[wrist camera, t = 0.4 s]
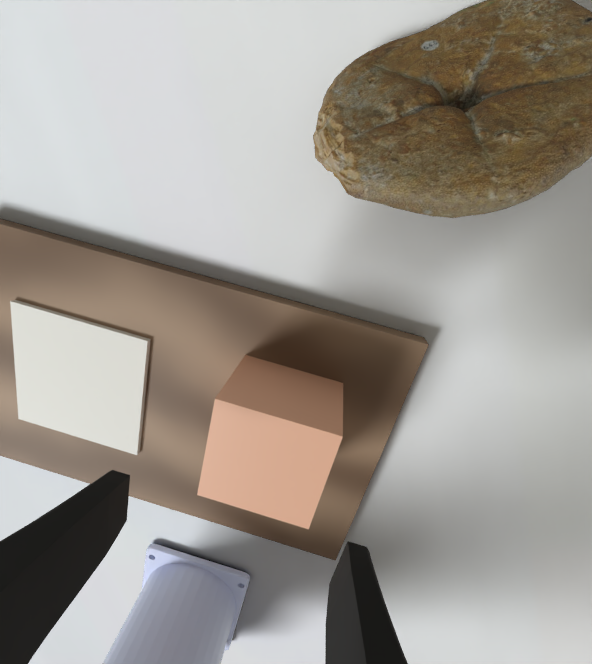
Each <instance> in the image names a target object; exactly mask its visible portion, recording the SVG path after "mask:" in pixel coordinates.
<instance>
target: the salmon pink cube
mask: <svg viewBox="0 0 592 664" xmlns="http://www.w3.org/2000/svg"><path fill="white" fill-rule="evenodd" d="M342 438H343V383H341V382H338V381H334V380H331V379H327V378H324V377H321V376H317V375H314V374H310V373H307V372H303V371H300V370H296V369H293V368H289V367H286V366H283V365H279V364H276V363H272V362H269V361H265V360H262V359H258V358H255V357H251V356H248V355H245V356H244V358H243V359H242V360H241V362H240V363H239V365H238V366H237V368H236V369H235V371H234V372H233V373H232V375H231V376H230V378H229V379H228V381H227V382H226V383H225V385H224V386H223V388H222V389H221V391H220V392H219V394H218V395H217V396H216V398H215V401H214V406H213V412H212V417H211V423H210V428H209V433H208V439H207V444H206V450H205V455H204V460H203V466H202V471H201V476H200V482H199V487H198V493H197V495H199V496H202V497H206V498H209V499H212V500H215V501H218V502H222V503H225V504H228V505H231V506H235V507H238V508H241V509H244V510H248V511H251V512H254V513H257V514H260V515H264V516H267V517H270V518H273V519H277V520H280V521H283V522H286V523H290V524H293V525H296V526H299V527H302V528H306V529H309V527H310V524H311V522H312V519H313V516H314V513H315V511H316V508H317V505H318V503H319V500H320V497H321V494H322V492H323V489H324V486H325V484H326V481H327V478H328V475H329V473H330V470H331V467H332V465H333V462H334V459H335V457H336V454H337V451H338V448H339V446H340V443H341V440H342Z"/></svg>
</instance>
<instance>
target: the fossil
mask: <svg viewBox="0 0 592 664" xmlns="http://www.w3.org/2000/svg"><path fill="white" fill-rule="evenodd" d="M313 139H314V144H315V157H316V159H317V160H318V161H319V162H320V163H322V165H323V166H324V167H325V168H326V169H327V171H331V172H333V173H334V176H335V177H336V178H338V179H339V181H340V182H341V184H342V186H343V187H344V189H345V190H346V192H347V193H348V194H349V195H351V196H353V197H355V198H359V199H363V200H367V201H372V202H376V203H381V204H384V205H387V206H390V207H393V208H397V209H402V210H406V211H411V212H415V213H419V214H425V215H430V216H440V217H450V218H456V217H462V216H469V215H477V214H485V213H489V212H494V211H498V210H502V209H505V208H508V207H511V206H513V205H516V204H519V203H521V202H524V201H526V200H528V199H530V198H532V197H534V196H536V195H538V194H540V193H542V192H544V191H546V190H548V189H549V188H550V187H552V186H553V185H554V184H556V183H557V182H558V181H560V180H561V179H562V178H563V177H565V176H566V175H567V174H568V173H569V172H570V171H571V170H574V169H576V168H578V167H580V166H581V165H582V164H583V163H584V162H585V161H586V160H588V159H589V158H590V157H591V156H592V12H591V11H589V10H587V9H586V8H584V7H582V6H580V5H579V4H577V3H575V2H574V1H572V0H487V1H484V2H482V3H479V4H476V5H474V6H471V7H468V8H465V9H463V10H461V11H459V12H457V13H455V14H453V15H452V16H450V17H448V18H447V19H445V20H444V21H442V22H440V23H438V24H436V25H433V26H432V27H430V28H429V29H427V30H424V31H422V32H419V33H416V34H414V35H411V36H408V37H405V38H401V39H397V40H394V41H391V42H389V43H386V44H384V45H382V46H380V47H378V48H376V49H374V50H371V51H369V52H367V53H365V54H364V55H362V56H361V57H359V58H357V59H356V60H354V61H353V62H352V63H351V64H349V65H348V66H347V67H346V68H345V69H344V70H343V71H342V72H341V73H340V74H339V75H338V76H337V77H336V78H335V79H334V81H333V83H332V84H331V86H330V87H329V88H328V90H327V92H326V95H325V97H324V99H323V104H322V107H321V109H320V111H319V114H318V120H317V126H316V131H315V133H314V135H313Z"/></svg>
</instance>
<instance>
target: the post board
mask: <svg viewBox="0 0 592 664" xmlns="http://www.w3.org/2000/svg"><path fill="white" fill-rule="evenodd" d="M13 300H18V301H21V302H25V303H28V304H31V305H35V306H38V307H42V308H45V309H49V310H52V311H55V312H59V313H62V314H66V315H69V316H73V317H76V318H79V319H83V320H86V321H90V322H93V323H97V324H100V325H104V326H107V327H110V328H114V329H117V330H121V331H124V332H128V333H131V334H134V335H138V336H141V337H145V338H148V339H151V340H150V351H149V361H148V372H147V382H146V393H145V403H144V414H143V424H142V435H141V445H140V453H139V454H138V455H134V454H131V453H128V452H125V451H121V450H118V449H115V448H112V447H108V446H105V445H102V444H99V443H95V442H92V441H89V440H86V439H82V438H79V437H76V436H72V435H69V434H66V433H63V432H59V431H56V430H53V429H50V428H46V427H43V426H40V425H37V424H33V423H30V422H27V421H24V420H20V419H18V405H17V391H16V377H15V362H14V348H13V334H12V319H11V305H10V301H13ZM427 347H428V343H427V341H426V340H425V338H424V337H420V336H417V335H413V334H410V333H406V332H403V331H399V330H396V329H392V328H388V327H385V326H381V325H378V324H374V323H371V322H367V321H364V320H360V319H356V318H353V317H349V316H346V315H342V314H339V313H335V312H331V311H328V310H324V309H321V308H317V307H314V306H310V305H307V304H303V303H299V302H296V301H292V300H289V299H285V298H282V297H278V296H274V295H271V294H267V293H264V292H260V291H257V290H253V289H250V288H246V287H242V286H239V285H235V284H232V283H228V282H225V281H221V280H218V279H214V278H210V277H207V276H203V275H200V274H196V273H193V272H189V271H185V270H182V269H178V268H175V267H171V266H168V265H164V264H161V263H157V262H153V261H150V260H146V259H143V258H139V257H136V256H132V255H128V254H125V253H121V252H118V251H114V250H111V249H107V248H104V247H100V246H96V245H93V244H89V243H86V242H82V241H79V240H75V239H72V238H68V237H64V236H61V235H57V234H54V233H50V232H47V231H43V230H39V229H36V228H32V227H29V226H25V225H22V224H18V223H15V222H11V221H7V220H4V219H0V456H3V457H6V458H10V459H13V460H16V461H19V462H22V463H26V464H29V465H32V466H35V467H38V468H42V469H45V470H48V471H51V472H54V473H58V474H61V475H64V476H67V477H70V478H74V479H77V480H80V481H83V482H86V483H90V484H91V483H93V482H94V481H96V480H97V479H99V478H100V477H102V476H103V475H105V474H106V473H107V472H109V471H111V470H115V471H118V472H122V473H125V474H128V475H130V484H129V496H131V497H134V498H138V499H141V500H144V501H147V502H150V503H154V504H157V505H160V506H163V507H166V508H170V509H173V510H176V511H179V512H182V513H186V514H189V515H192V516H195V517H198V518H202V519H205V520H208V521H211V522H214V523H218V524H221V525H224V526H227V527H230V528H234V529H237V530H240V531H243V532H246V533H250V534H253V535H256V536H259V537H262V538H266V539H269V540H272V541H275V542H278V543H282V544H285V545H288V546H291V547H294V548H298V549H301V550H304V551H307V552H310V553H314V554H317V555H320V556H323V557H326V558H330V559H333V560H336V558H337V556H338V553H339V551H340V549H341V546H342V544H343V542H344V540H345V537H346V535H347V533H348V530H349V528H350V526H351V523H352V521H353V519H354V516H355V514H356V512H357V509H358V507H359V505H360V502H361V500H362V498H363V496H364V493H365V491H366V489H367V486H368V484H369V482H370V479H371V477H372V475H373V472H374V470H375V468H376V465H377V463H378V461H379V458H380V456H381V454H382V452H383V449H384V447H385V445H386V442H387V440H388V438H389V435H390V433H391V431H392V428H393V426H394V424H395V421H396V419H397V417H398V414H399V412H400V410H401V408H402V405H403V403H404V401H405V398H406V396H407V394H408V391H409V389H410V387H411V384H412V382H413V380H414V377H415V375H416V373H417V370H418V368H419V366H420V364H421V361H422V359H423V357H424V354H425V352H426V350H427ZM245 355H248V356H251V357H255V358H258V359H262V360H265V361H269V362H272V363H276V364H279V365H283V366H286V367H289V368H293V369H296V370H300V371H303V372H307V373H310V374H314V375H317V376H321V377H324V378H327V379H331V380H334V381H338V382H341V383H343V438H342V440H341V443H340V446H339V448H338V451H337V454H336V457H335V459H334V462H333V465H332V467H331V470H330V473H329V475H328V478H327V481H326V484H325V486H324V489H323V492H322V494H321V497H320V500H319V503H318V505H317V508H316V511H315V513H314V516H313V519H312V522H311V524H310V527H309V529H306V528H302V527H299V526H296V525H293V524H290V523H286V522H283V521H280V520H277V519H273V518H270V517H267V516H264V515H260V514H257V513H254V512H251V511H248V510H244V509H241V508H238V507H235V506H231V505H228V504H225V503H222V502H218V501H215V500H212V499H209V498H206V497H202V496H199V495H197V493H198V487H199V482H200V476H201V471H202V466H203V460H204V455H205V450H206V444H207V439H208V433H209V428H210V423H211V417H212V412H213V406H214V401H215V398H216V396H217V395H218V394H219V392H220V391H221V389H222V388H223V386H224V385H225V383H226V382H227V381H228V379H229V378H230V376H231V375H232V373H233V372H234V371H235V369H236V368H237V366H238V365H239V363H240V362H241V360H242V359H243V358H244V356H245Z"/></svg>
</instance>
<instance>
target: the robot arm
mask: <svg viewBox="0 0 592 664" xmlns="http://www.w3.org/2000/svg"><path fill="white" fill-rule="evenodd" d="M129 484H130V475H128V474H125V473H122V472H118V471H115V470H111V471H109V472H107V473H106V474H105V475H103V476H102V477H100V478H99V479H97V480H96V481H94V482H93V483H91V484H90V485H88V486H87V487H85V488H84V489H83V490H81V491H80V492H78V493H77V494H75V495H74V496H72V497H71V498H69V499H68V500H66V501H65V502H63V503H62V504H60V505H58V506H57V507H55V508H54V509H52V510H51V511H49V512H47V513H46V514H44V515H43V516H41V517H40V518H38V519H37V520H35V521H33V522H32V523H30V524H29V525H27V526H25V527H24V528H22V529H20V530H18V531H17V532H15V533H13V534H12V535H10V536H8V537H7V538H5V539H3V540H2V541H0V664H28V663H29V661H30V659H31V658H32V656H33V655H34V653H35V652H36V651H37V649H38V648H39V646H40V645H41V643H42V642H43V640H44V639H45V638H46V636H47V635H48V633H49V632H50V631H51V629H52V628H53V627H54V625H55V624H56V623H57V621H58V620H59V618H60V617H61V616H62V614H63V613H64V612H65V610H66V609H67V608H68V606H69V605H70V604H71V602H72V601H73V599H74V598H75V597H76V595H77V594H78V593H79V591H80V590H81V589H82V587H83V586H84V584H85V583H86V582H87V580H88V579H89V578H90V576H91V575H92V574H93V572H94V571H95V569H96V568H97V567H98V565H99V564H100V563H101V561H102V560H103V558H104V557H105V556H106V554H107V552H108V551H109V549H110V548H111V546H112V544H113V543H114V541H115V539H116V538H117V536H118V534H119V532H120V531H121V529H122V527H123V526H124V524H125V522H126V520H127V508H128V496H129ZM249 581H250V576H249V575H248V574H247V573H246V572H243V571H240V570H236V569H233V568H230V567H227V566H224V565H221V564H217V563H214V562H211V561H208V560H205V559H202V558H199V557H195V556H192V555H189V554H186V553H183V552H180V551H177V550H173V549H170V548H167V547H164V546H161V545H158V544H150V545H149V547H148V548H147V550H146V559H145V567H144V575H143V583H142V591H141V593H140V594H139V596H138V598H137V600H136V602H135V604H134V606H133V607H132V609H131V611H130V613H129V615H128V617H127V619H126V621H125V622H124V624H123V626H122V628H121V630H120V632H119V634H118V635H117V637H116V639H115V641H114V643H113V645H112V647H111V649H110V650H109V652H108V654H107V656H106V658H105V660H104V662H103V663H102V664H221V660H222V657H223V653H224V650H228V649H229V647H230V644H231V641H232V637H233V634H234V631H235V627H236V624H237V621H238V617H239V614H240V611H241V608H242V604H243V601H244V598H245V594H246V591H247V588H248V584H249ZM326 664H408V663H407V661H406V658H405V656H404V653H403V651H402V648H401V646H400V643H399V640H398V638H397V635H396V632H395V629H394V627H393V624H392V621H391V619H390V616H389V613H388V610H387V607H386V604H385V601H384V598H383V595H382V592H381V589H380V586H379V583H378V580H377V577H376V574H375V570H374V567H373V564H372V560H371V557H370V553H369V550H368V549H367V547H365V546H361V545H358V544H355V543H352V542H347V544H346V546H345V549H344V551H343V553H342V556H341V558H340V560H339V563H338V565H337V568H336V570H335V572H334V575H333V577H332V579H331V582H330V585H329V595H328V605H327V617H326Z"/></svg>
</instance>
